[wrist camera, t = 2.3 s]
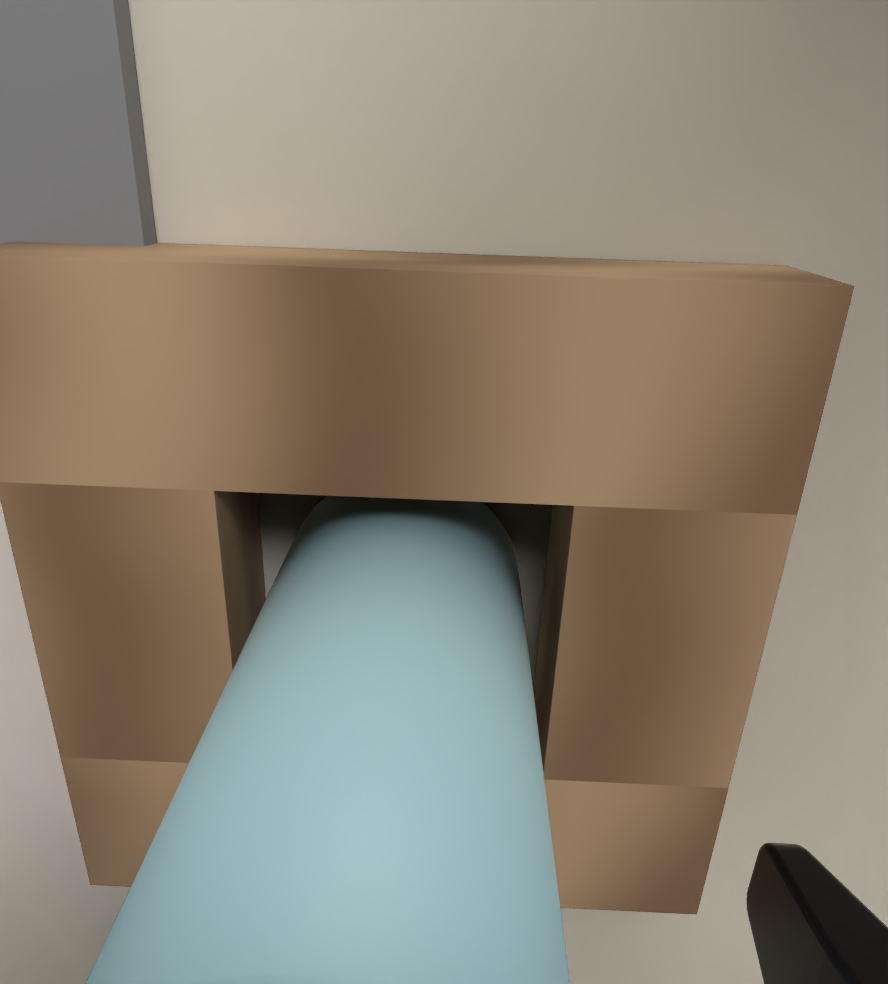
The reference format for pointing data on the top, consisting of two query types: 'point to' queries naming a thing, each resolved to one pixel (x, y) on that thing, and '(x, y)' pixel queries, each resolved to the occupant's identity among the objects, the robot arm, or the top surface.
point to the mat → (71, 126)
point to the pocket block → (413, 475)
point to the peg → (362, 776)
